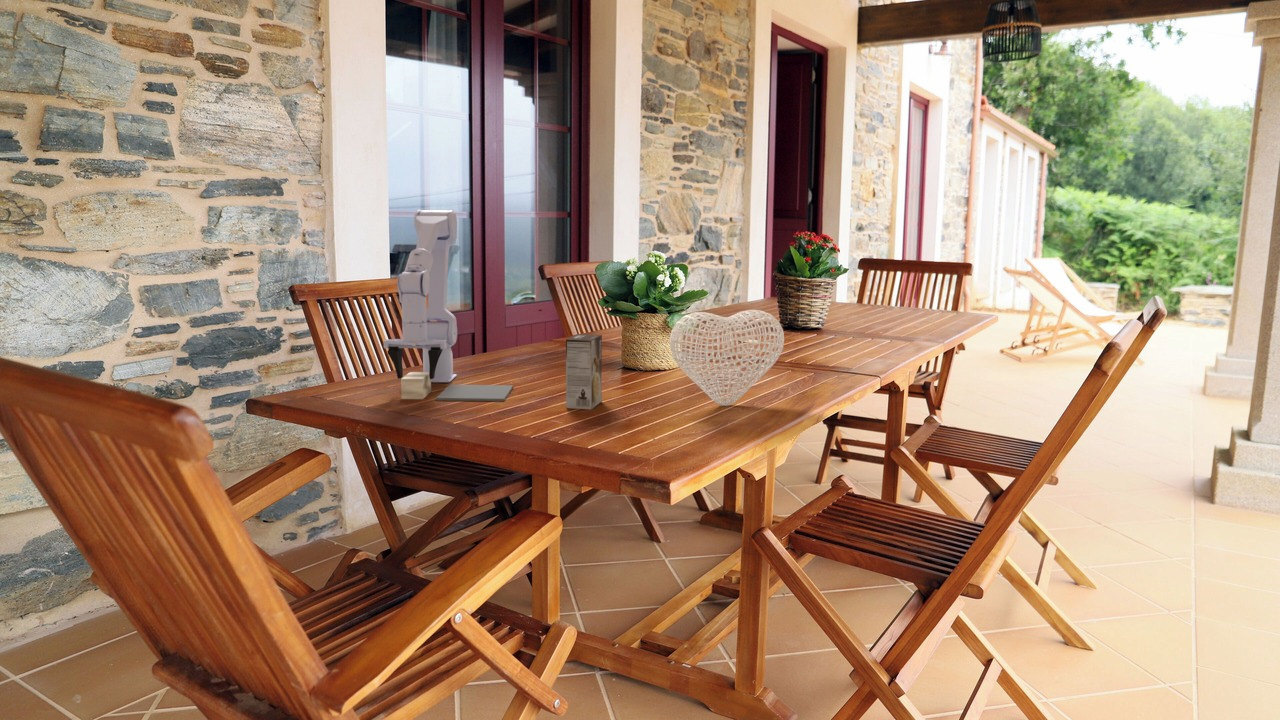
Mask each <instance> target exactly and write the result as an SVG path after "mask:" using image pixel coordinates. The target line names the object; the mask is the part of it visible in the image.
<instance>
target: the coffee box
mask: <svg viewBox="0 0 1280 720" xmlns="http://www.w3.org/2000/svg"><path fill="white" fill-rule="evenodd" d="M602 338H603V335H602V334H585V333H584V334H583V333H581V334H580V333H577V334H574V335H573V336H570V337H568V338H567V339H565V399H566V400H565V407H566V409H573V410H575V409H576V410H593V409H594V408H596V406H598V405H599V404H601V402H602V400H603V399H602V393H603V392H602V391H603V390H602V389H603V387H602V381H603V380H602V378H603V375H602V373H603V371H602V370H603V369H602V368H603V367H602V366H603V365H602V364H603V361H602V360H603V359H602V358H603V357H602V356H603V355H602V354H603V346H602V345H603V344H602V343H603V341H602V340H603V339H602Z"/></svg>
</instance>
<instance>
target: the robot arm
mask: <svg viewBox="0 0 1280 720" xmlns="http://www.w3.org/2000/svg"><path fill="white" fill-rule="evenodd" d="M457 220H458V218H457V213H455V211H454V210H453V209H450V210H431V209H429V210H427V209H426V210H425V209H424V210H423V209H417V210H416V212H415V213H414V219H413V225H414V229H415V232H416V235H417V236H418V237H417V241H416V246H415V248H414V249H412V250H411V251H410V253H409V255H408V257H407V258H408V259H407V262H406V264H405V268H404V271H403V272H401V273H399V274H398V276H397V283H396V285H397V292H398V295H399V300H398V301H399V303H401V326H402V328H401V329H402V338H395V339H384V340H383V348H384V349H388V350H387V354H388V357H389V358H390V360H391V362H392V364H393V366H394V369H395V372H396V377H397V379H398V380H399V379H400V380H401V378H403V377H404V376H403V374H404V371H403V352H404V350H403V349H422V363H423V365H422V366H423V367H422V370H423V371H422V372H429V377H430V379H431V383H451V382H452V381H453V380H454V379H456V377H457V374H456V373H454V362H453V361H454V360H453V351H452V346H454V345H455V344H456V342H457V339H458V326H457V321H458V320H457V318H456V316H455V315H454V314H453V313H452V312H451V311H450V310H448V309H447V298H448V295H447V294H448V280H449V279H448V276H449V275H448V274H449V253H450V248H451V246H453V245H455V244H456V243H457V238H458V237H457V232H458V221H457ZM427 296H428V297H427Z"/></svg>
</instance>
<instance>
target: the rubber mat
mask: <svg viewBox="0 0 1280 720" xmlns="http://www.w3.org/2000/svg"><path fill="white" fill-rule="evenodd" d="M513 389H514V385H509V384H508V385H507V384H506V385H505V384H504V385H502V384H501V385H498V384H497V385H493V384H449V385H448V386H447V387H446V388H444V390H442V392H441V393H440V394H438V395H437V396H436V397H435V401H440V402H441V401H442V402H443V401H446V402H447V401H449V402H451V401H454V402H457V401H458V402H465V401H466V402H505V401H506V399H507V398H508V396H509V395H510V394H511V392H512V390H513Z"/></svg>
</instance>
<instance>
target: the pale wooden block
mask: <svg viewBox="0 0 1280 720" xmlns="http://www.w3.org/2000/svg"><path fill="white" fill-rule="evenodd" d="M400 389H401V400H423V399H425V398H426V397H427V396H428V395H429V394H430V393H431V392H432V382H431V379H430V377H429V372H423V371H410V372H408V373H406V374H405V375H404V376H403V377H402V378H401V379H400Z"/></svg>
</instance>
